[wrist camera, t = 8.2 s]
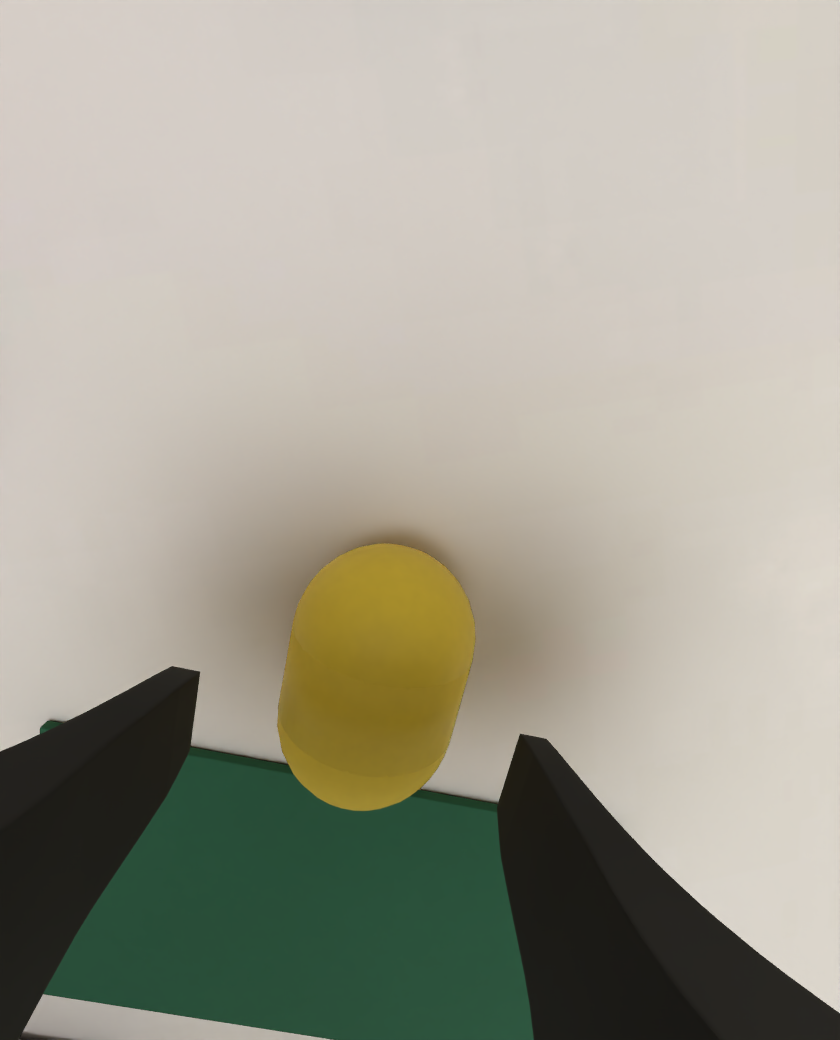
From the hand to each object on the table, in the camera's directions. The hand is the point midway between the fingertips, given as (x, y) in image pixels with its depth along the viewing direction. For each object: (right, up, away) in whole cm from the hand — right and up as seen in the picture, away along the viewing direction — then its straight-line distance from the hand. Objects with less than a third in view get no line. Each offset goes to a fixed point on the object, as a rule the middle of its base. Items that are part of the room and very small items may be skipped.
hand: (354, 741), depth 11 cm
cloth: (-2, -10, +8) cm, 12 cm away
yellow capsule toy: (0, +1, +5) cm, 5 cm away
